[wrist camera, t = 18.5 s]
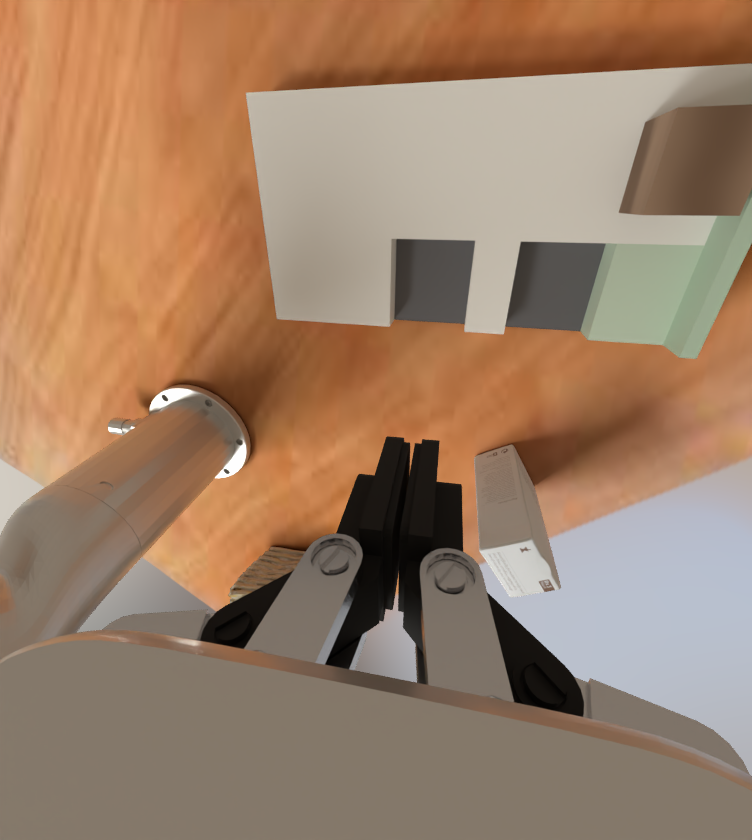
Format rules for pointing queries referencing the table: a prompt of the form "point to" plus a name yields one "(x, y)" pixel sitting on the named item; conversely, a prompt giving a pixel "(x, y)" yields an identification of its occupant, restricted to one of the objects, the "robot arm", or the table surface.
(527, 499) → the skincare box
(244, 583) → the fossil tooth
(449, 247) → the board
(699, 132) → the walnut block
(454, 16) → the table surface
